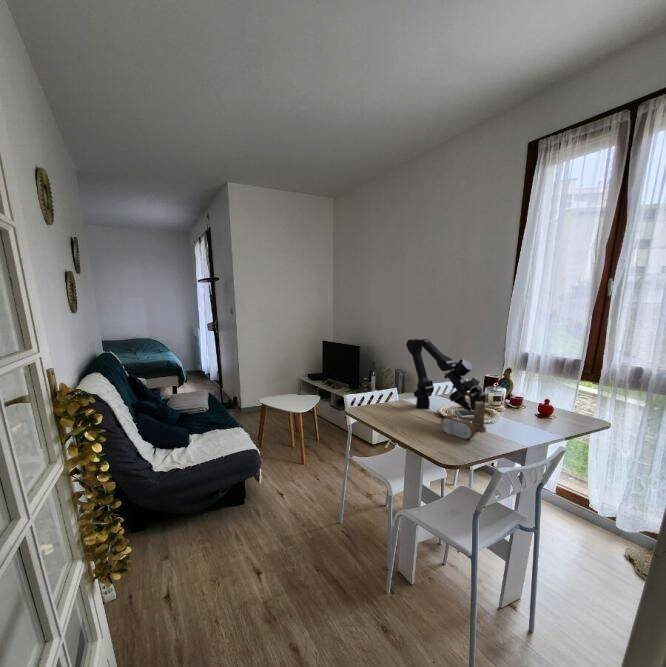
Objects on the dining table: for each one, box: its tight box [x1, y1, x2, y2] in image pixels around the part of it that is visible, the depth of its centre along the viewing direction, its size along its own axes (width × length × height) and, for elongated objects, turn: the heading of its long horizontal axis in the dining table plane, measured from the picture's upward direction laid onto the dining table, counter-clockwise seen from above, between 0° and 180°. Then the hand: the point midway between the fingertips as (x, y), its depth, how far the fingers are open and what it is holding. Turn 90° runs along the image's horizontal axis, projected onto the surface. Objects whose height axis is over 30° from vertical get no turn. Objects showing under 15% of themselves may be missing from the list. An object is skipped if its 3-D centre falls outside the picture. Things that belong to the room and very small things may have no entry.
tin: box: [440, 414, 476, 441], centre depth 142 cm, size 15×3×8 cm, turn 44°
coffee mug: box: [465, 391, 488, 411], centre depth 176 cm, size 12×9×10 cm
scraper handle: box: [472, 401, 487, 433], centre depth 150 cm, size 5×5×13 cm
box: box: [454, 409, 474, 421], centre depth 162 cm, size 11×11×3 cm
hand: (476, 409), depth 151 cm, fingers open, 9 cm apart
